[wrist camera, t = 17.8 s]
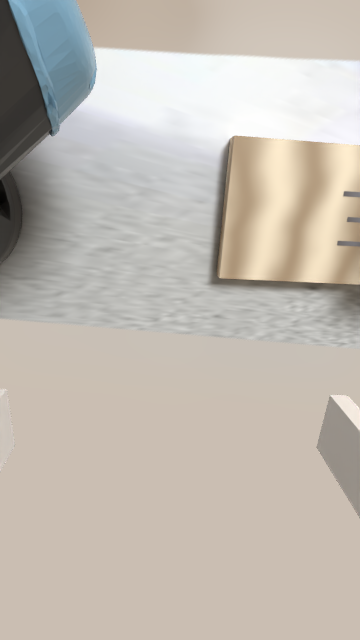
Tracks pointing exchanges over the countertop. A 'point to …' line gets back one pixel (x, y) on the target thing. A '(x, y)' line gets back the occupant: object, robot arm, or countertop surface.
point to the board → (291, 212)
